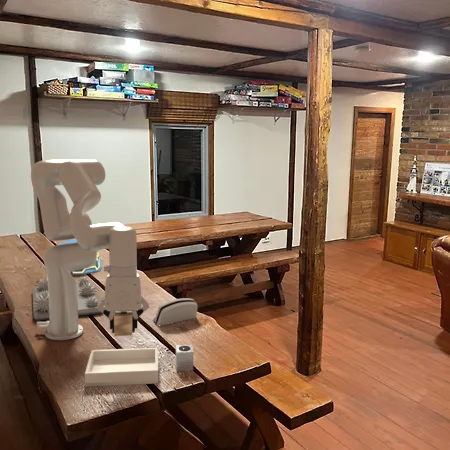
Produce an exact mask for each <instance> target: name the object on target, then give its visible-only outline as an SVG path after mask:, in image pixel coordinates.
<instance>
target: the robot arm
mask: <svg viewBox="0 0 450 450" xmlns="http://www.w3.org/2000/svg"><path fill="white" fill-rule="evenodd" d="M30 179H31V183H32V188H33V190H34V192H35V194H36V197H37V199H38V201H39V202H38V203H39V207H40V214H41V220H42V226H43V231H44V234H45V237H46V239H47V240H49V241H52V242H60V241H61V242H62V241H68V240H72V239H76V240H77V242H76V243H69V244H62V245H57V244H56V245H53V246H51V247H48V248H47V249H46V250H45V251H44V254H43V263H44V266H45V272H46V276H47V277H46V279H48V297H49V319H48V320H46V321H36V328H38V330H44V331H45V332H44V336H45V337H46V338H47V339H48V340H52V341H69V340H73V339H75V338H77V337H80V336H81V335H82V334H83V333H84V326H83V325H81V324H79V323H80V322H79V316H78V286H77V284H78V281H77V280H76V278H75V277H73V275H71V274H70V272H72V271H75V270H80V269H85V268H90V267H92V266H93V265H94V264H95V263H96V260H97V255H98V252H96V250H99V251H100V250H107V249H108V255H109V256H108V259H109V260H108V261H109V262H108V264H109V265H107V266H104V267H103V271H104V272H107V273H108V274H107V276H106V279H105V284H104V286H105V287H104V298H103V299H102V300H101V301H100V304H99V305H98V306H97V309H98V310H99V311H101V313H102V314H103V315H104V316H105V317H107V319H108V321H109V330H111V333H112V334H114V314H115V311H132V314H133V318H132V332H133V333H135V331H136V329H138V319H139V317H141V315H143V313H145V312H146V311H147V310H149V308H150V304H149V303H148V301H147V300H146V299H145V298H144V297H143V296H142V285H141V284H142V283H141V277H140V274H139V273H138V271H137V270H138V267H137V264H138V262H137V260H138V259H137V258H138V257H137V255H138V253H137V242H138V241H137V239H138V238H137V236H138V235H137V231H136V228H134V227H131V226H126V225H125V224H123V223H122V222H120V221H110V222H109V221H108V222H100V223H94V224H93V222H92V219H91V217H90V216H89V215H88V212H89V211H90V210H93V208H95V207H97V205H99V203H100V201H101V199H102V194H101V192H100V190H99V189H98V187H97V186H100V185H102V184H103V183H104V182H105V180H106V170H105V168H104V166H103V164H102V163H101V161H98V160H97V159H94V158H93V159H46V160H45V159H44V160H40V161H37V162H35V163H34V164H33V165H32V168H31V171H30ZM56 186H63V188H64V189H65V191H66V193H67V194H68V196H69V198H70V200H71V202H72V204H73V205H72V207H71V211H69V209H68V204H67V203H68V201H67V198H66V197H65V195H64V194H63V192H61V190H59V188H57V187H56ZM133 333H132V334H133Z"/></svg>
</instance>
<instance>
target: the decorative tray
mask: <svg viewBox="0 0 450 450" xmlns="http://www.w3.org/2000/svg"><path fill="white" fill-rule="evenodd" d="M37 281H38V282H36V283H35V285H34V288H33V289H32V290H31V291H32V292H31V293H32V307H33V308H32V309H33V310H32V311H33V319H34V320H36V321H45V320H46V321H48V320H49V297H48V279H47V278H46V279H45V277H43V279H42V278H40V280H39V279H37ZM93 284H94V283H93V282H92V283H91V282H90V279H89V278H88V277H87V276H83V277H82V276H81V277H80V279H78V283H77V286H78V317H80V316H91V315H95V314H96V315H97V314H101V313H102V312H101V311H99V310H98V309H97V306H98V305H99V304H100V302H101V301H100V298H99V297H98V295H97V292H98V291H97V290H96V289H97V288H96V285H93Z"/></svg>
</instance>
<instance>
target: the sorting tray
mask: <svg viewBox="0 0 450 450" xmlns="http://www.w3.org/2000/svg"><path fill="white" fill-rule="evenodd" d="M158 348H159V347H148V348H147V347H146V348H145V347H144V348H142V347H139V348H138V347H137V348H118V349H117V348H115V349H114V348H113V349H111V348H110V349H90V350H91V351H90V354H89V358H88V360H87V365H86V368H85V372H84V388H87V387H88V388H89V387H105V386H108V387H109V386H126V385H127V386H128V385H130V386H131V385H148V384H159V349H158Z"/></svg>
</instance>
